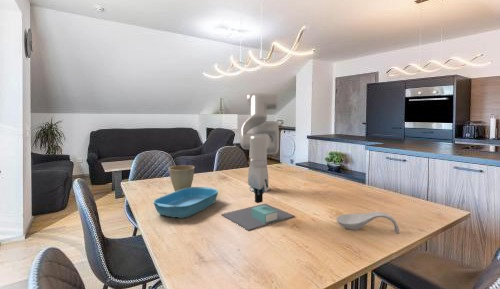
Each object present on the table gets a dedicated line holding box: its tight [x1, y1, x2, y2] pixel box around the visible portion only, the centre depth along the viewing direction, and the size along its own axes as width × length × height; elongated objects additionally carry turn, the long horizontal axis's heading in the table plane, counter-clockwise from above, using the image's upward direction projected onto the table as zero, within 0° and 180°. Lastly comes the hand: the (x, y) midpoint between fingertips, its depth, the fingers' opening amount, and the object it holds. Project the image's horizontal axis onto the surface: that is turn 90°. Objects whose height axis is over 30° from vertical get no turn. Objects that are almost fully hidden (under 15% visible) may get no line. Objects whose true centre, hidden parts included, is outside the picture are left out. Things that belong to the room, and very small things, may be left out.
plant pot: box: [168, 164, 196, 192], centre depth 170 cm, size 15×15×16 cm
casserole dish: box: [152, 186, 219, 219], centre depth 145 cm, size 37×22×7 cm, turn 156°
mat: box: [221, 203, 296, 232], centre depth 133 cm, size 22×26×1 cm
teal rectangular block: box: [252, 205, 278, 223], centre depth 128 cm, size 4×7×10 cm
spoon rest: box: [336, 211, 400, 235], centre depth 117 cm, size 24×12×7 cm, turn 73°
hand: (258, 202), depth 132 cm, fingers closed
